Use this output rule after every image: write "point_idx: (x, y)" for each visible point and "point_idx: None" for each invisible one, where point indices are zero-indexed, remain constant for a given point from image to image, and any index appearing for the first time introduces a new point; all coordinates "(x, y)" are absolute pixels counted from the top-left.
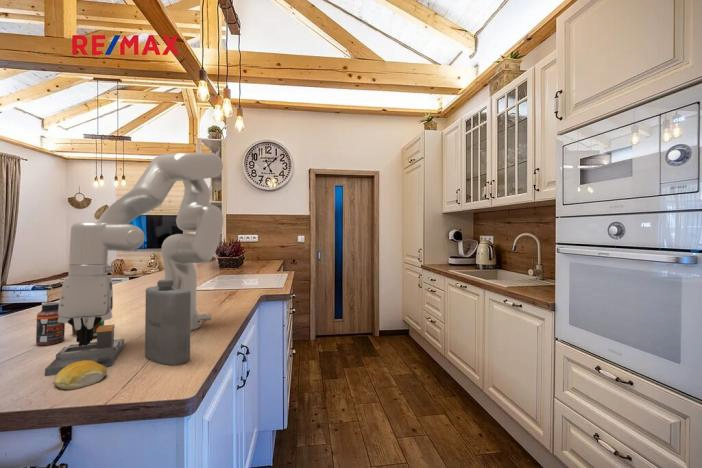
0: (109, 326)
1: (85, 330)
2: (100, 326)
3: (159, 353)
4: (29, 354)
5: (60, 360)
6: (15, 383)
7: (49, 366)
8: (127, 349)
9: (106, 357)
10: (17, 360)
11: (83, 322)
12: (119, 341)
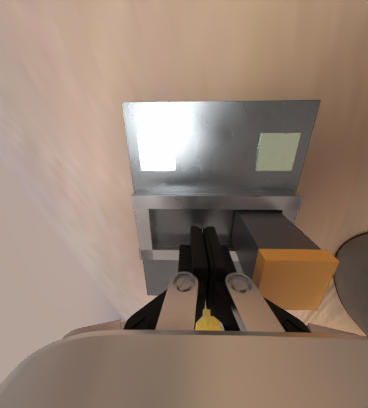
0: (309, 290)
1: (212, 311)
2: (269, 274)
3: (365, 333)
4: (6, 87)
5: (157, 260)
6: (117, 293)
7: (149, 284)
8: (304, 182)
9: None
10: (16, 147)
11: (196, 304)
12: (300, 204)
